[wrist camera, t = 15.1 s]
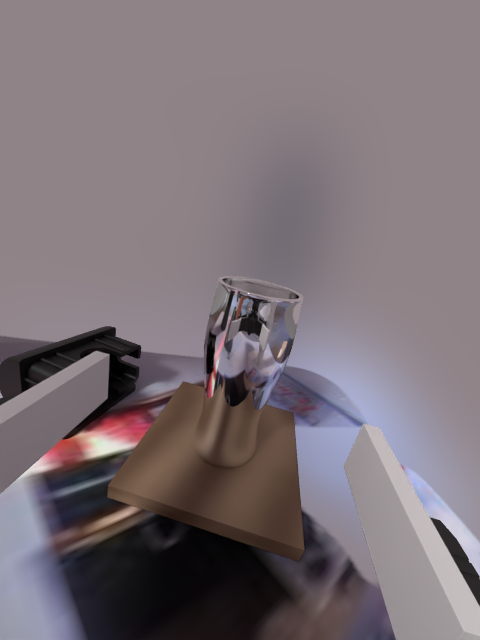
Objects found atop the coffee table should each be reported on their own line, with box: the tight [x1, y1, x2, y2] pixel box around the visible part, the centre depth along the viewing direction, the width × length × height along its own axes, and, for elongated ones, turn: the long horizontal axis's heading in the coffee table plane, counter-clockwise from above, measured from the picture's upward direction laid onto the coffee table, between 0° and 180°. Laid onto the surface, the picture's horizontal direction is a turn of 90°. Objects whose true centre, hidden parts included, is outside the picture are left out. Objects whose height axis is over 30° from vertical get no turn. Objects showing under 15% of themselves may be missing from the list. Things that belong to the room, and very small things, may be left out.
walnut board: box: [108, 382, 304, 561], centre depth 23 cm, size 14×14×1 cm
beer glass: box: [193, 276, 303, 468], centre depth 21 cm, size 7×7×15 cm
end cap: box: [0, 326, 141, 439], centre depth 25 cm, size 10×7×7 cm
